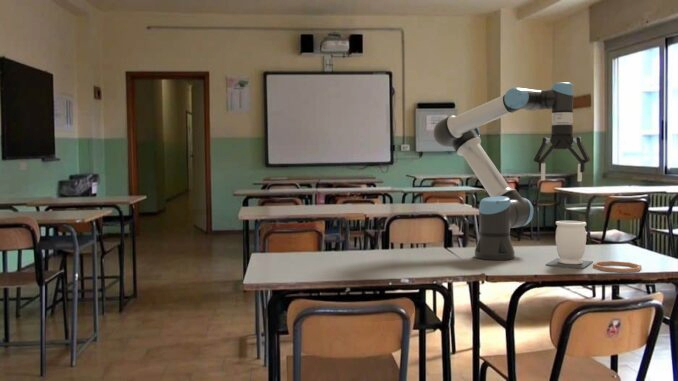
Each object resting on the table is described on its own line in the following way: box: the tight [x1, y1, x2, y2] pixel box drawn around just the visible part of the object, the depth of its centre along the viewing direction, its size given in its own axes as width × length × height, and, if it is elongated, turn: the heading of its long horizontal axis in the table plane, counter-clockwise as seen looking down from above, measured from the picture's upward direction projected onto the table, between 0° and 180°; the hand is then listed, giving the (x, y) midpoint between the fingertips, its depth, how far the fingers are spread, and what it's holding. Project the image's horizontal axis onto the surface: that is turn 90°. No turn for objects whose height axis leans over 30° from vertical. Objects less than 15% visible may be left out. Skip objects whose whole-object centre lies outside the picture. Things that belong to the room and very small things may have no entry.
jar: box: [555, 220, 587, 265], centre depth 224 cm, size 11×10×15 cm
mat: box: [545, 257, 594, 270], centre depth 225 cm, size 13×15×1 cm
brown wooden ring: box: [592, 260, 642, 273], centre depth 216 cm, size 15×15×1 cm
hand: (561, 180), depth 234 cm, fingers open, 13 cm apart
